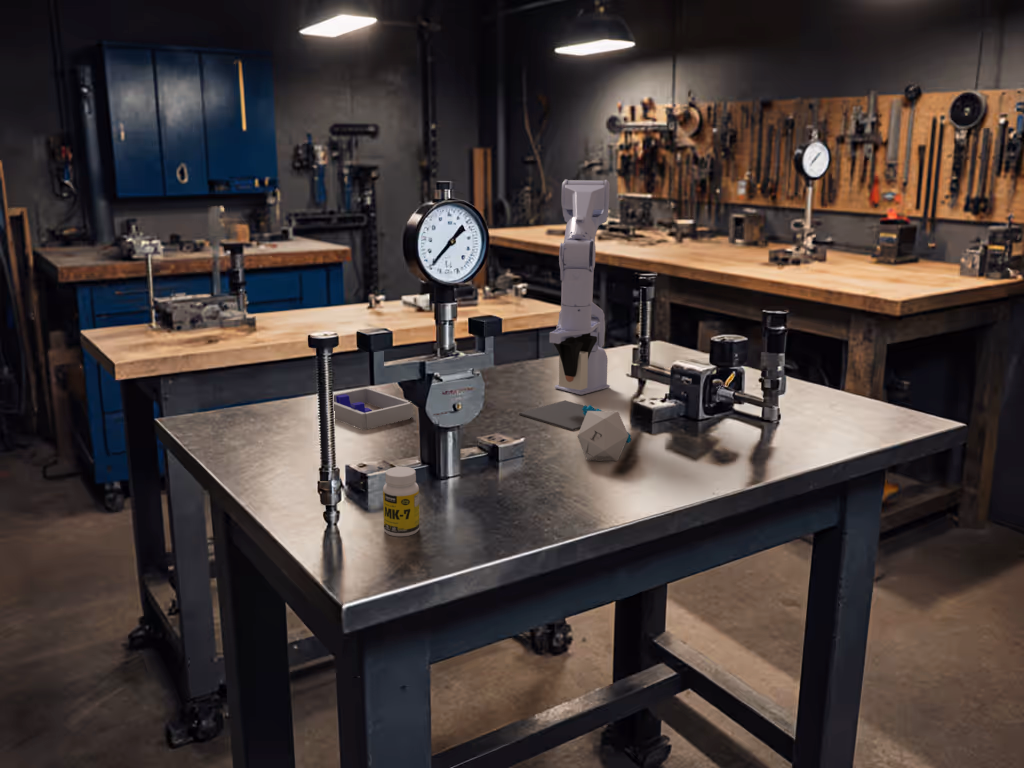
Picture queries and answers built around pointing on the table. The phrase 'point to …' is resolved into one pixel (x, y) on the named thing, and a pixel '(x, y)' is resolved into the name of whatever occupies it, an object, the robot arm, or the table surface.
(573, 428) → the mat
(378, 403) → the parts tray
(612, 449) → the die
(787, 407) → the table surface
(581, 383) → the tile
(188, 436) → the table surface
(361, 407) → the blue stepped block
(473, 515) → the table surface
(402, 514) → the supplement bottle
